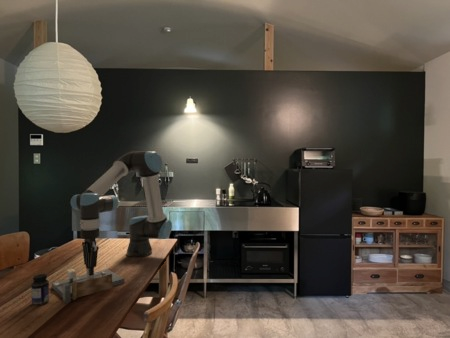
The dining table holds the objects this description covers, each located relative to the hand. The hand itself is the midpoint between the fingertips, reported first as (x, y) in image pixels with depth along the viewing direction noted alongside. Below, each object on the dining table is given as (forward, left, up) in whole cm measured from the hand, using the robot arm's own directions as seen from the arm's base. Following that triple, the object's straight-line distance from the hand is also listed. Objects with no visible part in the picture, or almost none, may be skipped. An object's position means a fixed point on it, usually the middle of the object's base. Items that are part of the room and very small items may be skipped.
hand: (90, 281), depth 137 cm
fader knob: (+4, -11, -2) cm, 12 cm away
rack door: (0, +4, -4) cm, 5 cm away
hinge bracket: (+11, +4, -4) cm, 12 cm away
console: (-2, -7, -4) cm, 9 cm away
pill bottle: (+19, -2, -4) cm, 19 cm away
